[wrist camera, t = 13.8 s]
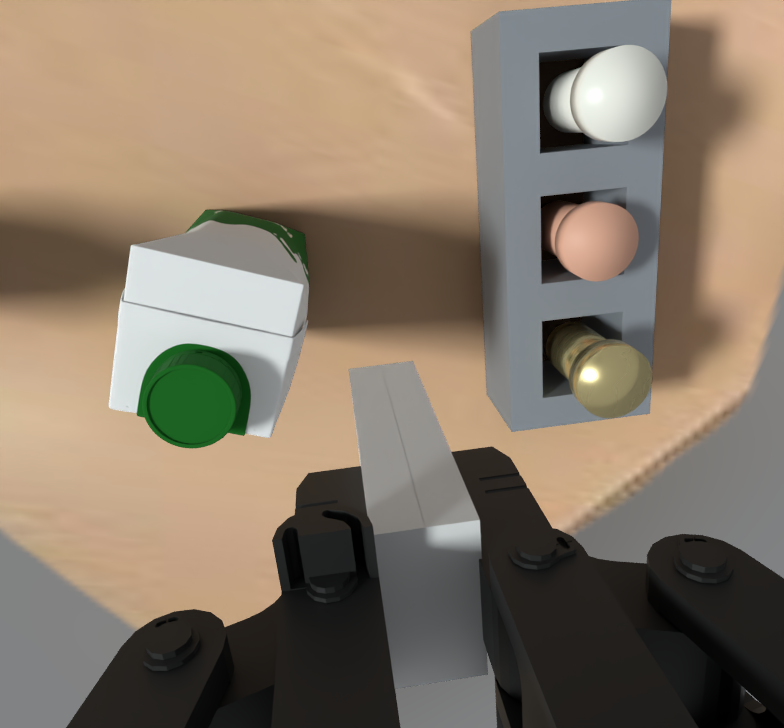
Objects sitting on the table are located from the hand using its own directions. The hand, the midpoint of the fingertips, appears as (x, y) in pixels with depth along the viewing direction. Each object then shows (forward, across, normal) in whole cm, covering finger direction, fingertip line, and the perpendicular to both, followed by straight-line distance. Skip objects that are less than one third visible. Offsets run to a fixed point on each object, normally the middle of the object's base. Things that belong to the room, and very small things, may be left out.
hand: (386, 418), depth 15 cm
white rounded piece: (+28, +15, +7) cm, 32 cm away
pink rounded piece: (+30, +15, -1) cm, 34 cm away
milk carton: (+33, -7, -2) cm, 33 cm away
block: (+32, +15, -1) cm, 36 cm away
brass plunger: (+28, +15, -9) cm, 33 cm away
